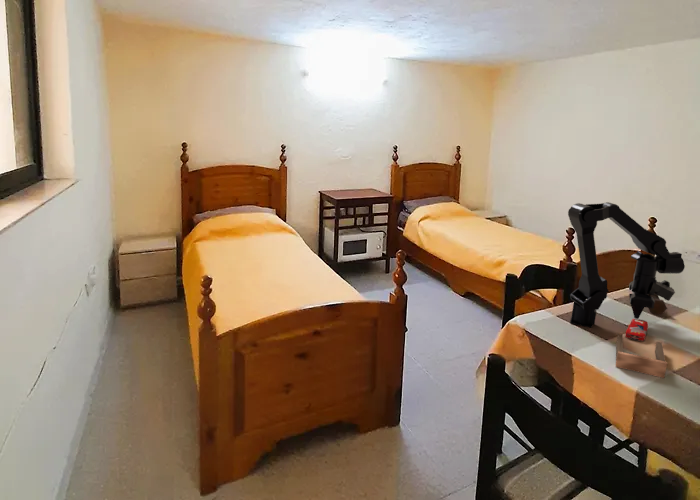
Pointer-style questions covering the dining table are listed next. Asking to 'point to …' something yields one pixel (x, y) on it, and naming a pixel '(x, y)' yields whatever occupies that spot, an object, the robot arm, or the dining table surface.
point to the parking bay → (641, 360)
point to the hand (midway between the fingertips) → (636, 318)
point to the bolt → (658, 305)
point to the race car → (637, 330)
